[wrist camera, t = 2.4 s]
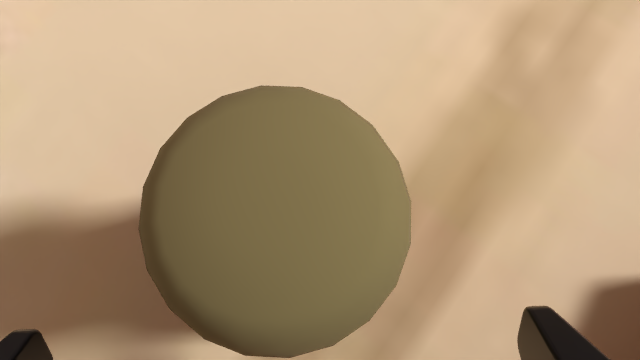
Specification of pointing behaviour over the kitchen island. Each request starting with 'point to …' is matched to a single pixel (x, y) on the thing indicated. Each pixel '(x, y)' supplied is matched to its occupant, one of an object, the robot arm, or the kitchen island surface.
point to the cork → (275, 221)
